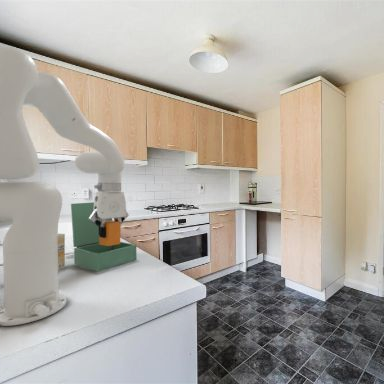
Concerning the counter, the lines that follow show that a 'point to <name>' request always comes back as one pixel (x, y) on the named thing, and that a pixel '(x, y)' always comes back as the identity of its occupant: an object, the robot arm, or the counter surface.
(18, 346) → the counter surface
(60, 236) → the supplement box
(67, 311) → the counter surface
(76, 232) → the lunchbox lid
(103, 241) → the juice carton
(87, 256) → the lunchbox
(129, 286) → the counter surface
